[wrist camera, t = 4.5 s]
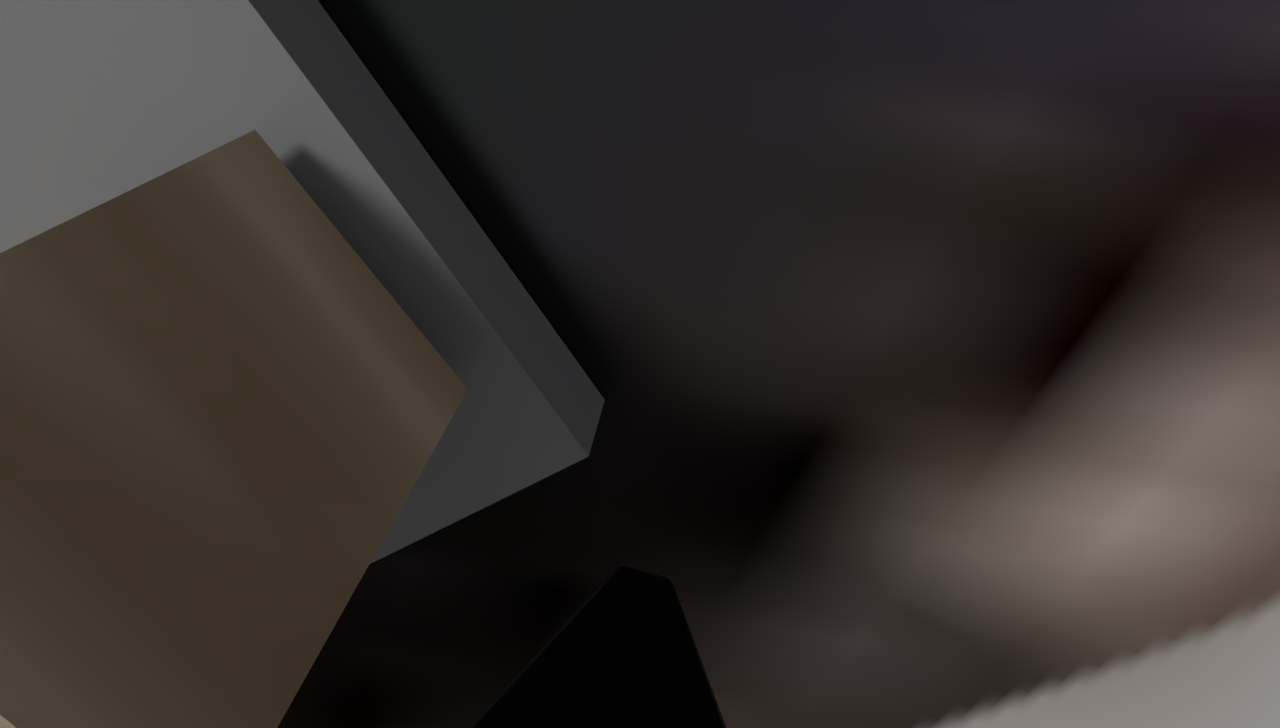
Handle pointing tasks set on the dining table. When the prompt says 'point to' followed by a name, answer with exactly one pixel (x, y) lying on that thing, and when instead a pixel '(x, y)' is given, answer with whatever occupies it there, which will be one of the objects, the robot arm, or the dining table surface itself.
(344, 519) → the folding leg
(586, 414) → the dark grey flat piece
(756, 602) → the dining table surface
